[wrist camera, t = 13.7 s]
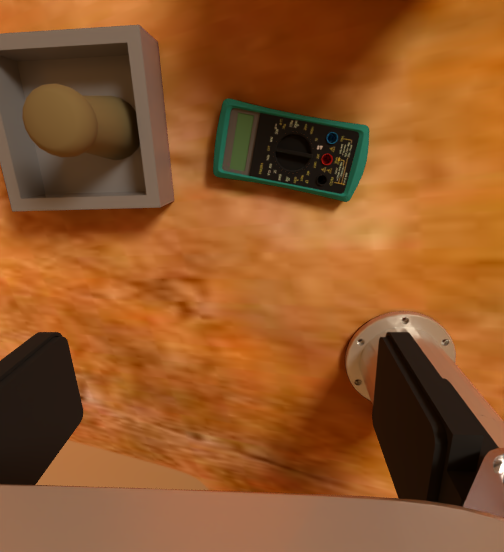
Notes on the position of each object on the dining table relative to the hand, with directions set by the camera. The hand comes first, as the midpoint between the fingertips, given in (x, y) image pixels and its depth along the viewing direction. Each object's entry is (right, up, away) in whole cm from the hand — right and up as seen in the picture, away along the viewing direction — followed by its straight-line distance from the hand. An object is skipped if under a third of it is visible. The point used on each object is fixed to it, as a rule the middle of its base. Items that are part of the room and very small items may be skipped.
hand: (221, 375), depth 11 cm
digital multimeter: (+5, +16, +27) cm, 32 cm away
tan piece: (-13, +18, +26) cm, 34 cm away
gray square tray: (-15, +18, +27) cm, 36 cm away
